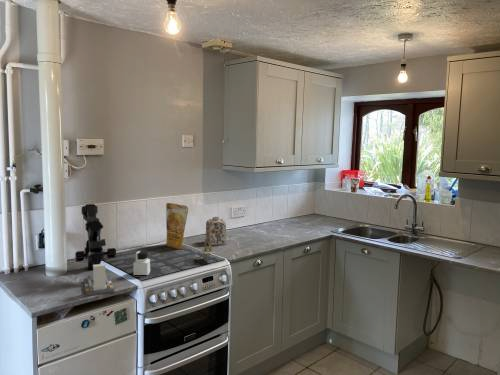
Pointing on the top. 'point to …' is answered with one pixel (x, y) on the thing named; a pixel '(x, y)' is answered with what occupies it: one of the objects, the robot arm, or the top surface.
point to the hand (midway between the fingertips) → (97, 270)
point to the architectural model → (205, 250)
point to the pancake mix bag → (175, 224)
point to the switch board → (89, 290)
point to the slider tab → (99, 277)
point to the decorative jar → (216, 231)
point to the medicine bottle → (141, 263)
